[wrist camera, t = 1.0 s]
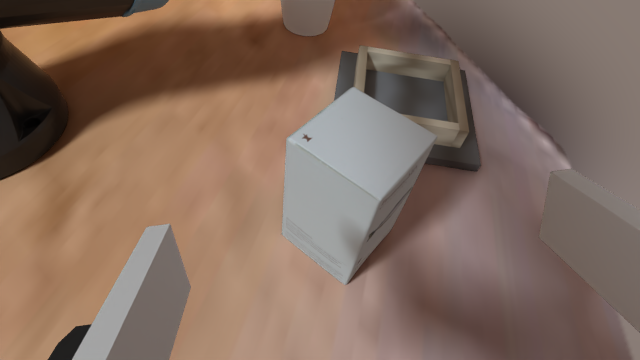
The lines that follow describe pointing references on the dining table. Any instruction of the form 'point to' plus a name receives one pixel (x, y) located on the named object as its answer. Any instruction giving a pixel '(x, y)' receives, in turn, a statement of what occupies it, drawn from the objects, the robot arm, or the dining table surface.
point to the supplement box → (350, 180)
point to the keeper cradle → (418, 97)
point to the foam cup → (307, 16)
